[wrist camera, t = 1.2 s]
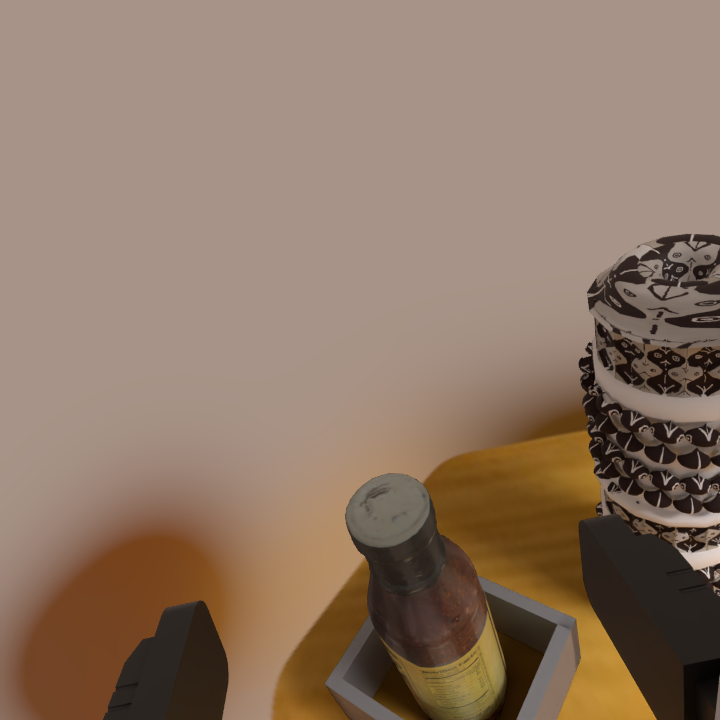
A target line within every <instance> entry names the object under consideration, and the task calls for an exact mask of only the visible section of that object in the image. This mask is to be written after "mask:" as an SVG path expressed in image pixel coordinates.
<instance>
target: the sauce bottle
mask: <svg viewBox="0 0 720 720" xmlns="http://www.w3.org/2000/svg"><path fill="white" fill-rule="evenodd" d="M345 519H346V525H347V528H348V531H349V533H350V535H351V538H352V541H353V543H354V545H355V546H356V548H357V549H358V551H359V552H360V553H361V554H363V555H364V556H365V557H366V559H367V561H368V563H369V569H370V571H371V572H370V580H369V588H368V596H367V606H368V612H369V616H370V619H371V621H372V624H373V626H374V628H375V630H376V632H377V633H378V635H379V637H380V639H381V640H382V642H383V644H384V645H385V647H386V649H387V651H388V653H389V654H390V656H391V658H392V660H393V661H394V663H395V665H396V667H397V669H398V671H399V672H400V674H401V675H402V677H403V679H404V680H405V682H406V684H407V686H408V688H409V689H410V691H411V693H412V695H413V696H414V698H415V700H416V701H417V703H418V705H419V706H420V707H421V709H422V710H423V711H424V712H425V713H426V714H427V715H428V716H429V717H430V718H431V719H433V720H494V719H495V718H496V717H497V716H498V714H499V712H500V710H501V708H502V706H503V703H504V700H505V695H506V692H507V684H508V677H507V673H506V664H505V659H504V656H503V652H502V649H501V645H500V642H499V639H498V635H497V632H496V629H495V626H494V623H493V619H492V616H491V613H490V609H489V606H488V603H487V600H486V596H485V593H484V590H483V588H482V585H481V584H480V582H479V579H478V576H477V573H476V570H475V569H474V565H473V564H472V562H471V560H470V558H469V557H468V556H467V555H466V553H465V552H464V551H463V550H462V549H461V548H460V547H459V546H457V545H456V544H455V543H453V542H452V541H450V540H449V539H448V538H446V537H445V536H444V535H440V534H439V532H438V530H437V526H436V523H437V522H436V518H435V510H434V507H433V503H432V500H431V498H430V495H429V492H428V491H427V489H426V488H425V486H424V485H423V484H422V483H420V482H419V481H418V480H416V479H414V478H412V477H410V476H408V475H404V474H385V475H381V476H378V477H375V478H373V479H371V480H370V481H368V482H367V483H365V484H364V485H363V486H362V487H361V488H360V489H358V490H357V492H356V493H355V494H354V495H353V497H352V498H351V499H350V502H349V504H348V506H347V508H346V514H345Z"/></svg>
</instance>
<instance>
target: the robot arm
mask: <svg viewBox="0 0 720 720" xmlns="http://www.w3.org/2000/svg"><path fill="white" fill-rule="evenodd" d="M579 538H580V549H581V560H582V571H583V580H584V585H585V589H586V592H587V595H588V598H589V600H590V603H591V605H592V607H593V609H594V611H595V613H596V614H597V616H598V618H599V620H600V621H601V623H602V625H603V627H604V628H605V630H606V632H607V634H608V635H609V637H610V639H611V640H612V642H613V644H614V646H615V647H616V649H617V651H618V653H619V654H620V656H621V658H622V660H623V661H624V663H625V665H626V667H627V668H628V670H629V672H630V673H631V675H632V677H633V679H634V680H635V682H636V684H637V686H638V687H639V689H640V691H641V693H642V694H643V696H644V698H645V699H646V701H647V703H648V705H649V706H650V708H651V710H652V712H653V713H654V715H655V717H656V719H657V720H720V598H719V597H718V596H717V595H716V594H715V592H714V591H713V590H712V589H711V588H708V586H707V583H706V582H705V581H704V580H703V579H702V577H701V576H700V575H699V574H698V573H697V572H696V571H694V570H693V567H692V566H691V565H690V564H689V562H688V561H687V560H686V559H685V558H684V557H683V555H682V554H681V553H680V552H679V551H678V550H677V549H676V548H675V547H674V546H672V545H670V544H669V543H667V542H665V541H664V540H662V539H660V538H659V537H657V536H655V535H654V534H652V533H648V534H643V535H639V536H636V535H635V534H634V533H633V532H632V530H631V529H630V528H629V527H628V525H627V524H626V523H625V521H624V520H623V519H622V518H621V517H620V516H619V515H618V514H616V513H614V514H609V515H605V516H600V517H595V518H591V519H586V520H581V521H580V522H579ZM227 687H228V662H227V658H226V654H225V650H224V648H223V645H222V643H221V640H220V639H219V635H218V633H217V631H216V628H215V625H214V623H213V621H212V618H211V615H210V613H209V610H208V608H207V606H206V604H205V603H204V602H203V601H196V602H191V603H186V604H182V605H177V606H172V607H168V608H166V609H165V610H164V612H163V614H162V616H161V619H160V622H159V625H158V628H157V631H156V634H155V637H152V638H147V639H143V640H142V641H141V642H140V644H139V645H138V646H137V648H136V649H135V651H133V653H132V654H131V656H130V657H129V658H128V659H127V661H126V662H125V664H124V666H123V669H122V672H121V674H120V677H119V679H118V682H117V685H116V692H114V693H113V695H112V698H111V700H110V703H109V706H108V713H106V714H105V716H104V719H103V720H222V716H223V710H224V704H225V699H226V693H227Z"/></svg>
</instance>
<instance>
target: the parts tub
mask: <svg viewBox="0 0 720 720" xmlns="http://www.w3.org/2000/svg"><path fill="white" fill-rule="evenodd" d="M477 576H478V575H477ZM478 579H479V582H480V584H481V585H482V588H483V590H484V593H485V596H486V600H487V603H488V606H489V609H490V613H491V616H492V619H493V623H494V626H495V629H496V630H497V631H499V632H501V633H503V634H505V635H507V636H509V637H511V638H513V639H515V640H517V641H519V642H522V643H524V644H526V645H528V646H530V647H532V648H534V649H536V650H538V651H540V652H542V653H544V654H545V655H544V657H543V659H542V662H541V664H540V666H539V669H538V671H537V673H536V675H535V678H534V680H533V682H532V685H531V687H530V689H529V692H528V694H527V696H526V699H525V701H524V703H523V706H522V708H521V710H520V712H519V715H518V717H517V719H516V720H557V718H558V715H559V712H560V710H561V707H562V705H563V702H564V700H565V697H566V695H567V692H568V690H569V687H570V684H571V682H572V679H573V677H574V674H575V672H576V669H577V667H578V664H579V661H580V659H581V656H580V648H579V640H578V632H577V624H576V619H575V618H573V617H571V616H569V615H566V614H564V613H562V612H560V611H557V610H555V609H553V608H550V607H548V606H546V605H544V604H541V603H539V602H537V601H535V600H532V599H530V598H528V597H526V596H523V595H521V594H519V593H516V592H514V591H512V590H510V589H507V588H505V587H503V586H501V585H498V584H496V583H494V582H491V581H489V580H487V579H485V578H482V577H480V576H478ZM393 663H394V661H393V660H392V658H391V656H390V654H389V653H388V651H387V649H386V647H385V645H384V644H383V642H382V640H381V639H380V637H379V635H378V633H377V632H376V630H375V628H374V626H373V624H372V621H371V619H370V616H368V618H367V619H366V621H365V622H364V624H363V625H362V627H361V628H360V630H359V632H358V633H357V635H356V636H355V638H354V639H353V641H352V642H351V644H350V646H349V647H348V649H347V650H346V652H345V653H344V655H343V656H342V658H341V659H340V661H339V663H338V664H337V666H336V667H335V669H334V670H333V672H332V673H331V675H330V677H329V678H328V680H327V681H326V683H325V685H326V687H327V688H328V690H329V691H330V692H331V694H332V695H333V697H334V698H335V700H336V701H337V702H338V704H339V705H340V707H341V708H342V709H343V711H344V712H345V714H346V715H347V716H348V718H350V719H351V720H403V719H402V718H400V717H399V716H397V715H396V714H394V713H393V712H391V711H390V710H388V709H387V708H385V707H384V706H382V705H381V704H379V703H378V702H376V701H375V700H373V697H374V695H375V694H376V692H377V690H378V689H379V687H380V685H381V683H382V682H383V680H384V678H385V677H386V675H387V673H388V671H389V670H390V668H391V666H392V665H393Z"/></svg>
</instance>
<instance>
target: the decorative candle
mask: <svg viewBox="0 0 720 720" xmlns="http://www.w3.org/2000/svg"><path fill="white" fill-rule="evenodd" d="M587 295H588V304H589V312H590V313H591V314H592V315H593V316H594V319H595V338H594V340H593V341H592V343H590V342H589V343H588V345H587V348H586V349H585V350H586V352H587V353H589V354H591V356H589V357H586V358H581V359H580V361H579V368H580V370H581V371H582V372H583V373H585V374H584V375H582V377H581V379H580V383H581V386H582V388H583V389H584V390H585V391H586V392H587V394H586V395H585V396H584V398H583V402H582V404H583V407H584V408H585V413H586V416H587V417H588V419H590V421H589V422H588V424H587V430H588V434H589V435H590V437H591V438H592V440H591V441H590V444H589V451H590V453H591V455H592V457H593V459H594V460H595V469H594V474H596V478H597V479H598V481H599V482H600V484H601V485H602V486H601V499H602V502H600V503H598V505H597V506H596V512H597V514H598V515H599V516H605V515H609V514H614V513H616V514H618V515H619V516H620V517H621V518H622V519H623V520H624V521H625V523H626V524H627V525H628V527H629V528H630V529H631V530H632V532H633V533H634V534H635V535H636V536H639V535H643V534H648V533H652V534H654V535H655V536H657V537H659V538H660V539H662V540H664V541H665V542H667V543H669V544H670V545H672V546H674V547H675V548H676V549H677V550H678V551H679V552H680V553H681V554H682V555H683V557H684V558H685V559H686V560H687V561H688V562H689V564H690V565H691V566H692V567H693V570H694V571H696V572H697V573H698V574H699V575H700V576H701V577H702V579H703V580H704V581H705V582H706V583H707V586H708V588H711V589H712V590H713V591H714V592H715V594H716V595H717V596H718V597H719V598H720V237H719V236H715V235H700V234H684V235H676V236H669V237H662V238H659V239H656V240H653V241H650V242H647V243H644V244H641V245H639V246H637V247H635V248H634V249H632V250H631V251H629V252H628V253H626V254H625V255H623V256H622V257H621V258H620V259H619V260H618V261H617V262H616V264H614V265H613V266H611V267H610V268H608V269H607V270H605V271H604V272H602V273H600V274H599V275H598V276H597V278H596V279H595V281H594V283H593V284H592V286H591V287H590V289H589V290H588V292H587ZM595 379H596V382H597V383H596V384H595V385H594V380H595Z"/></svg>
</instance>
